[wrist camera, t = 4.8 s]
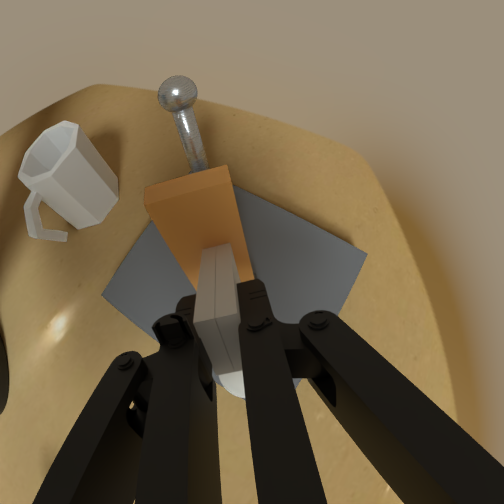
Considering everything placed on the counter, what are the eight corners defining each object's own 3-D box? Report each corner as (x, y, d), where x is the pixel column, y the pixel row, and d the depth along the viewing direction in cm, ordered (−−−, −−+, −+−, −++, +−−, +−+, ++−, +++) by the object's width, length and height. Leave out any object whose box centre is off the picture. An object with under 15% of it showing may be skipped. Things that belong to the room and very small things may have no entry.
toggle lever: (194, 224, 24) (143, 92, 14) (192, 203, 26) (147, 80, 16) (235, 213, 24) (201, 75, 14) (230, 193, 26) (199, 64, 16)
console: (116, 301, 26) (100, 295, 23) (200, 183, 30) (194, 166, 27) (276, 410, 22) (276, 417, 19) (358, 265, 26) (367, 253, 23)
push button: (229, 399, 20) (225, 403, 18) (217, 349, 21) (212, 348, 19) (281, 387, 20) (282, 390, 18) (268, 337, 21) (268, 335, 19)
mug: (80, 170, 33) (42, 124, 23) (130, 171, 32) (94, 115, 22) (46, 253, 29) (-8, 219, 19) (95, 265, 28) (37, 227, 18)
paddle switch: (206, 312, 22) (139, 211, 12) (203, 292, 23) (141, 184, 13) (262, 299, 22) (237, 184, 12) (256, 279, 23) (230, 159, 13)
